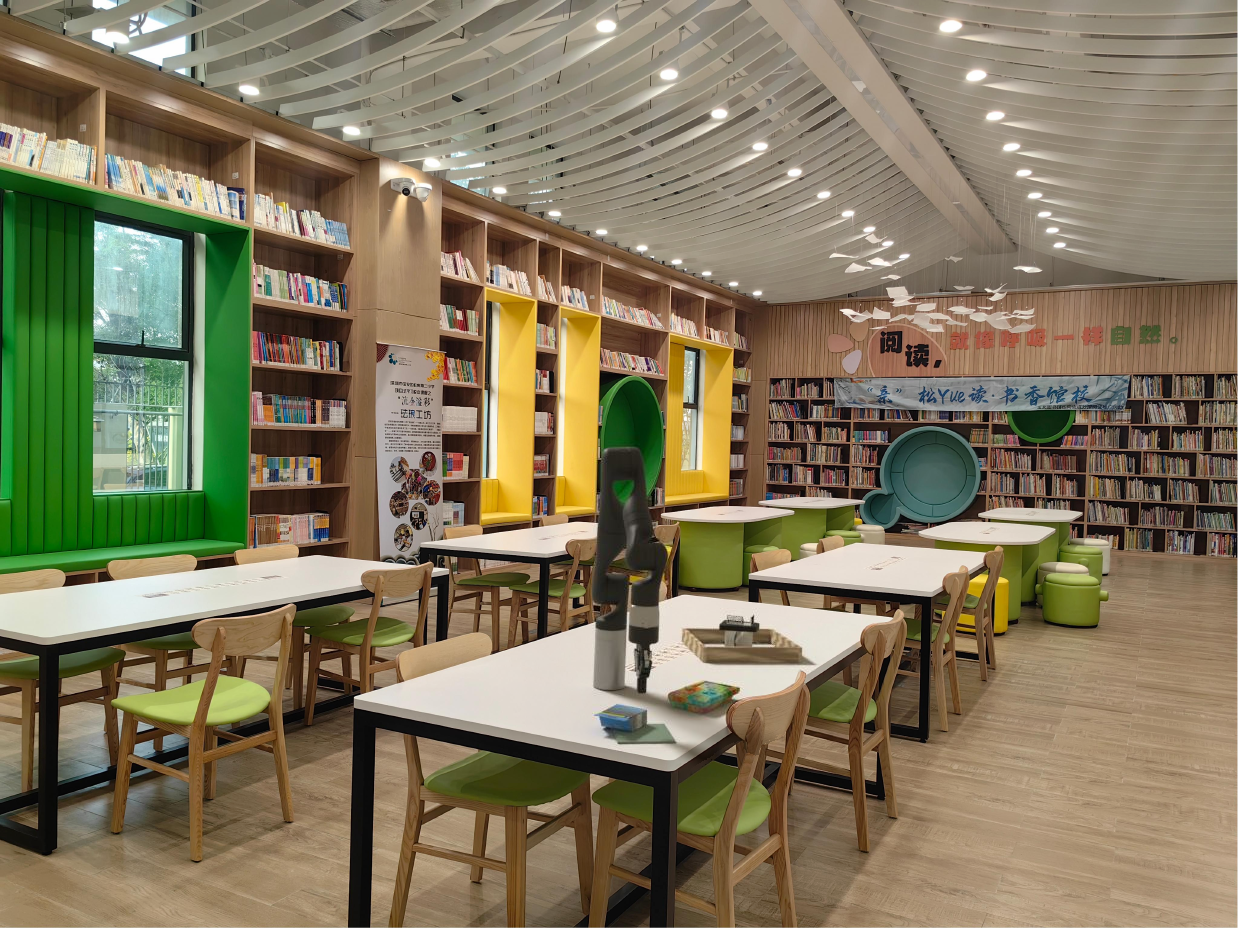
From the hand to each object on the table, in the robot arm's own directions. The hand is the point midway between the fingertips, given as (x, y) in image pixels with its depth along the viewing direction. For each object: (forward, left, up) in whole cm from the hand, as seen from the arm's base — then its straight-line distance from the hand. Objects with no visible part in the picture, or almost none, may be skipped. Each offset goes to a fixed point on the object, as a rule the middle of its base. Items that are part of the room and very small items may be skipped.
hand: (641, 692), depth 223 cm
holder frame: (-89, +51, -10) cm, 103 cm away
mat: (+2, 0, -10) cm, 10 cm away
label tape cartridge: (-7, -1, -7) cm, 10 cm away
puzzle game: (-24, +22, -10) cm, 34 cm away
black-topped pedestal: (-90, +51, -10) cm, 104 cm away
